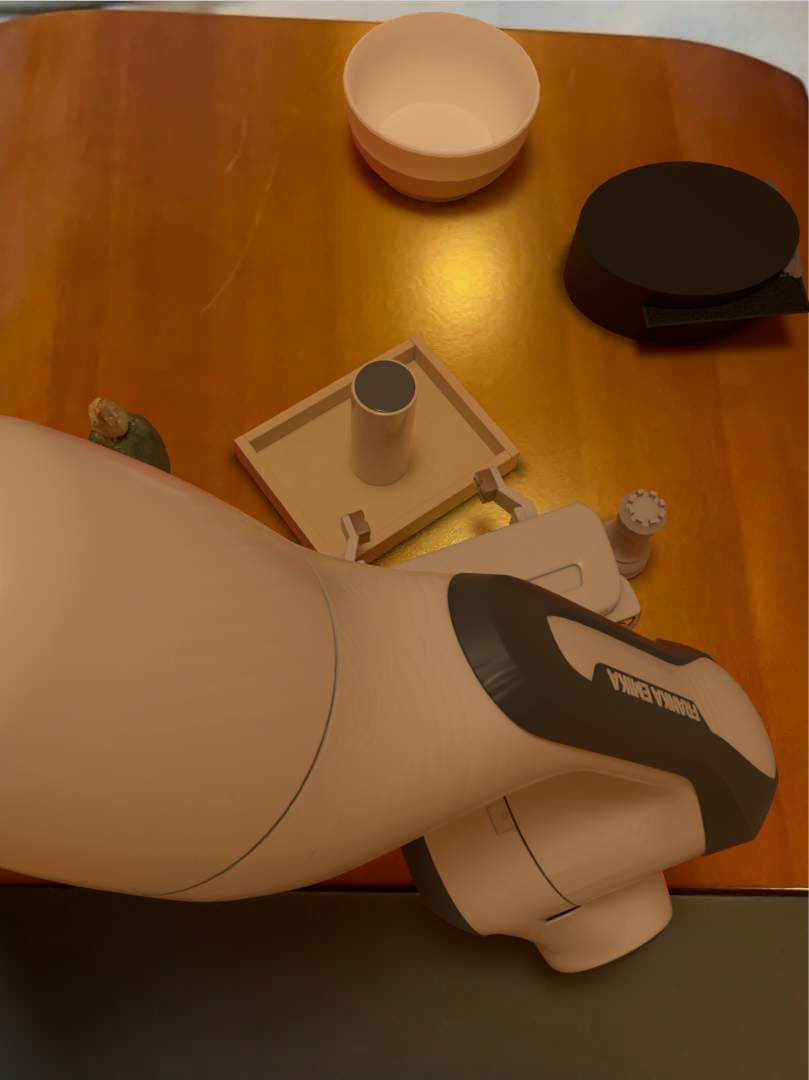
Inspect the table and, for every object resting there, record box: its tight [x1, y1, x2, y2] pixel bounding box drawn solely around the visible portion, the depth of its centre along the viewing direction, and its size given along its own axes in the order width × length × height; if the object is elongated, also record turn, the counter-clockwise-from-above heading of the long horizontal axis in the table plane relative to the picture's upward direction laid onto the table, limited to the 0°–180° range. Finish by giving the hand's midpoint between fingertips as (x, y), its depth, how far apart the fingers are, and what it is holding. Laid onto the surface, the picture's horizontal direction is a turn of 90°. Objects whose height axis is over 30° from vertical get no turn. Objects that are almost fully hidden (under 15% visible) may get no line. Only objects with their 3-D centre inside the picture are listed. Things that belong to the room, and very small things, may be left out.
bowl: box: [342, 11, 541, 203], centre depth 83 cm, size 16×16×8 cm
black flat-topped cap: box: [563, 160, 809, 344], centre depth 80 cm, size 14×18×8 cm
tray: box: [233, 333, 521, 565], centre depth 73 cm, size 17×13×3 cm
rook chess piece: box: [602, 488, 668, 580], centre depth 69 cm, size 4×4×8 cm
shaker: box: [350, 358, 419, 486], centre depth 69 cm, size 4×4×10 cm
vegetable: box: [87, 396, 172, 475], centre depth 61 cm, size 4×4×20 cm
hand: (417, 494), depth 65 cm, fingers open, 8 cm apart
